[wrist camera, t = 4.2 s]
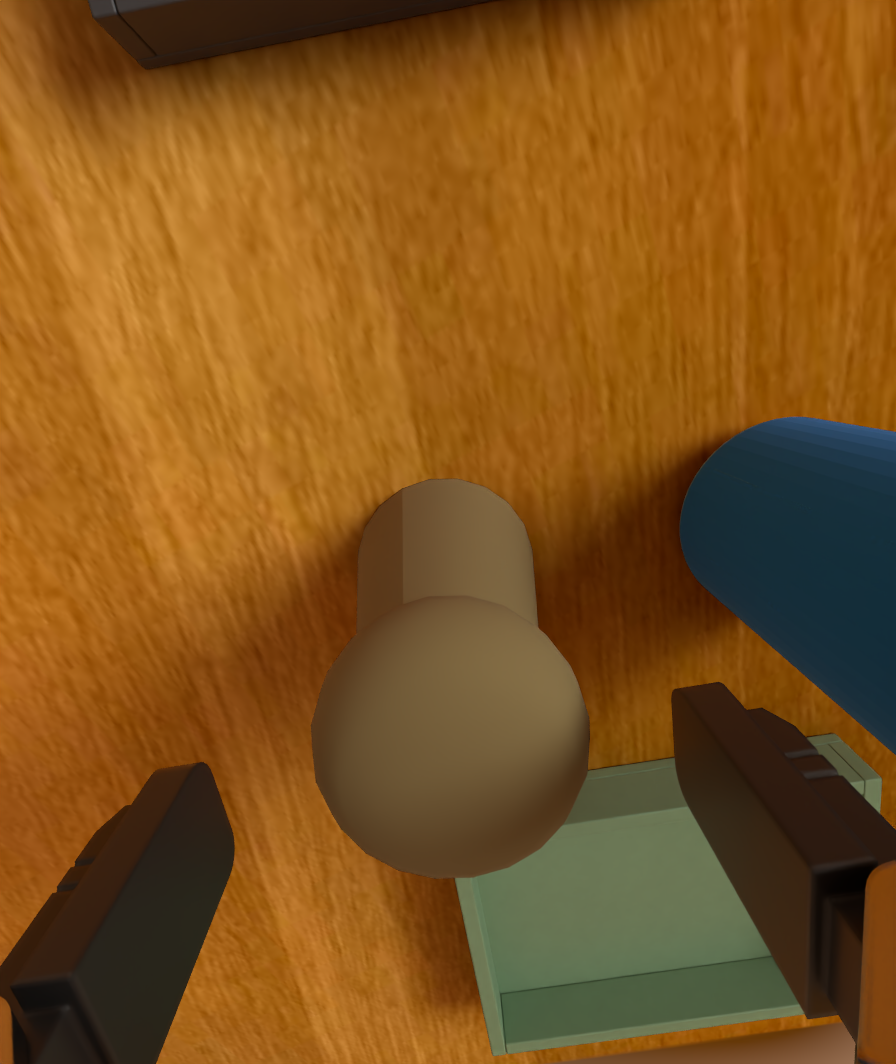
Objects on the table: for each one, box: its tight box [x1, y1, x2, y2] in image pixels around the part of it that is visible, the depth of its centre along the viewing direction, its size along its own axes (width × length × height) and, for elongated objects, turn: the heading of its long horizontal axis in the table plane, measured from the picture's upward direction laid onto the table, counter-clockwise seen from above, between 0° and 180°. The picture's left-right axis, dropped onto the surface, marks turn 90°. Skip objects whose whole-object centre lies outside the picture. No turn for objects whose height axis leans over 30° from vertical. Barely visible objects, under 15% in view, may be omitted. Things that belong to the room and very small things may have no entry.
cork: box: [311, 479, 590, 879], centre depth 15 cm, size 6×6×11 cm
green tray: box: [454, 734, 882, 1056], centre depth 23 cm, size 15×11×2 cm
